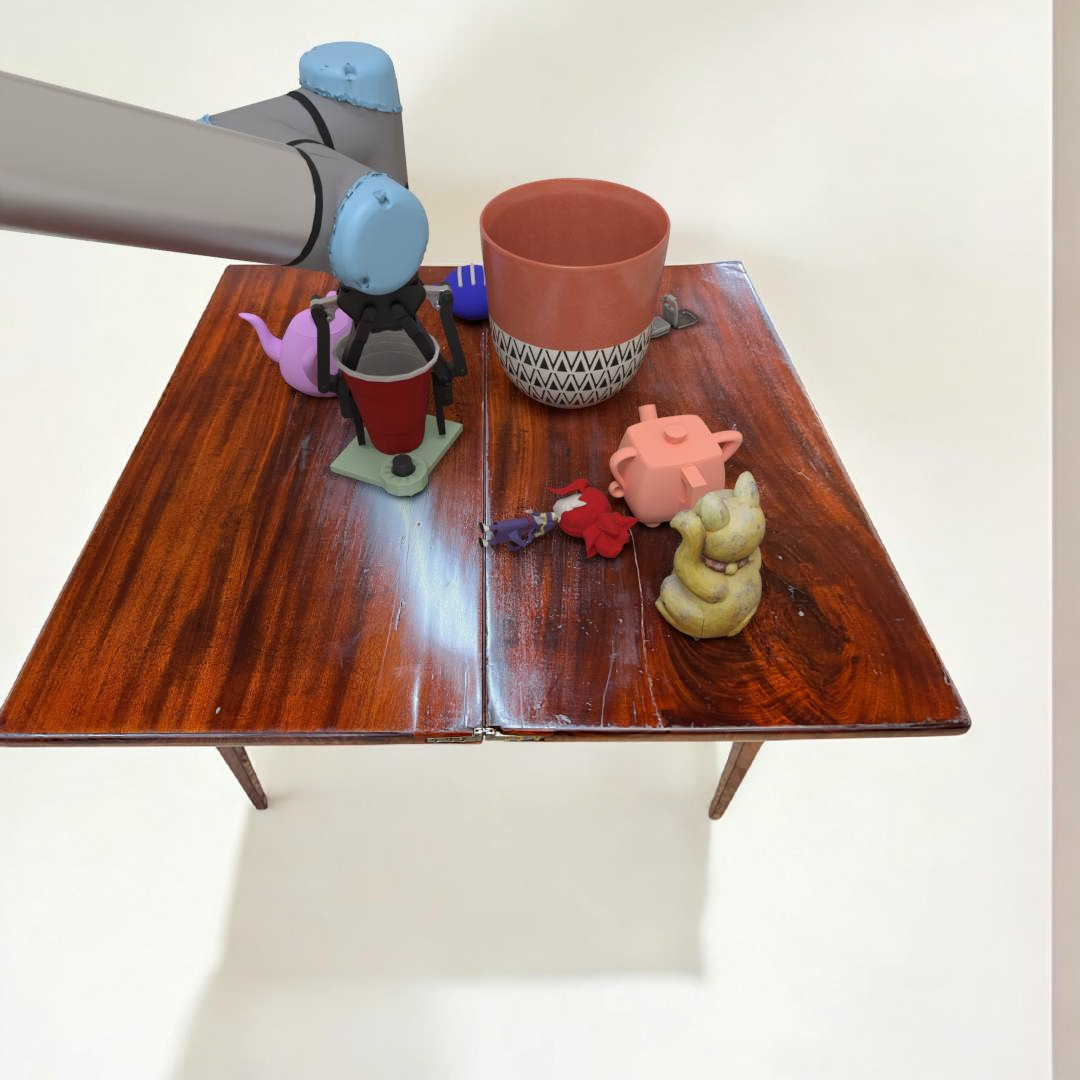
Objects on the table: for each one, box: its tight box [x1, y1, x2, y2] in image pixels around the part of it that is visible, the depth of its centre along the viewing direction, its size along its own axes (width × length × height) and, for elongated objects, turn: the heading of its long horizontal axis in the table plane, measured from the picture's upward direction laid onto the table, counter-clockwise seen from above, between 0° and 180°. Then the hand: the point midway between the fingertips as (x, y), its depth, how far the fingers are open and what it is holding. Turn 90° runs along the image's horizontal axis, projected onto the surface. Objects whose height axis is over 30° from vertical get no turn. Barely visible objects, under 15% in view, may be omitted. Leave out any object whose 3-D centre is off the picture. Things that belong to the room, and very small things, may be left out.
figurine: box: [478, 477, 639, 559], centre depth 83 cm, size 6×8×15 cm
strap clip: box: [650, 293, 700, 339], centre depth 111 cm, size 8×3×4 cm, turn 121°
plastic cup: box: [332, 328, 441, 455], centre depth 91 cm, size 11×11×12 cm
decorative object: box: [431, 262, 489, 321], centre depth 113 cm, size 10×6×10 cm
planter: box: [478, 177, 672, 410], centre depth 95 cm, size 20×20×21 cm
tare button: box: [392, 454, 413, 477], centre depth 89 cm, size 2×2×2 cm
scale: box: [329, 413, 464, 497], centre depth 93 cm, size 13×11×2 cm
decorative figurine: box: [654, 470, 766, 642], centre depth 74 cm, size 10×8×15 cm
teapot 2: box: [608, 403, 744, 528], centre depth 86 cm, size 12×12×10 cm
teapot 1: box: [238, 290, 353, 398], centre depth 101 cm, size 12×14×9 cm
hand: (401, 432), depth 94 cm, fingers closed on plastic cup, 8 cm apart
